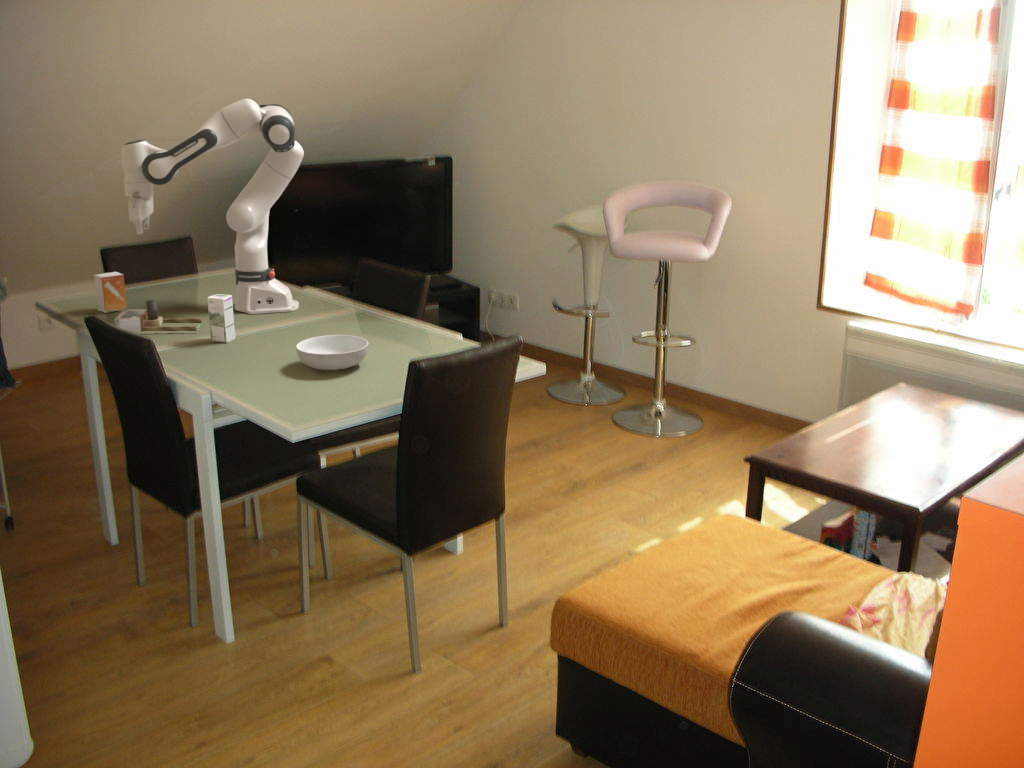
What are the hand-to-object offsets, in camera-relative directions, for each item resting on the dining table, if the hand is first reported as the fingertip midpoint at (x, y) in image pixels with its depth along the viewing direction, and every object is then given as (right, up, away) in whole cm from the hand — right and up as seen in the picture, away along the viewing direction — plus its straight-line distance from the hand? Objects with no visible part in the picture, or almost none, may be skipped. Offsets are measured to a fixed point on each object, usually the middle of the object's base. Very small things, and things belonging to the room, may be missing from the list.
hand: (143, 231), depth 352 cm
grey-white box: (-1, -33, -8) cm, 34 cm away
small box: (-16, -26, +15) cm, 34 cm away
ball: (+1, -31, -9) cm, 32 cm away
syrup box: (+32, -38, -20) cm, 53 cm away
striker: (+6, -33, -7) cm, 34 cm away
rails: (+12, -33, -7) cm, 36 cm away
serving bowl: (+72, -46, -45) cm, 96 cm away
